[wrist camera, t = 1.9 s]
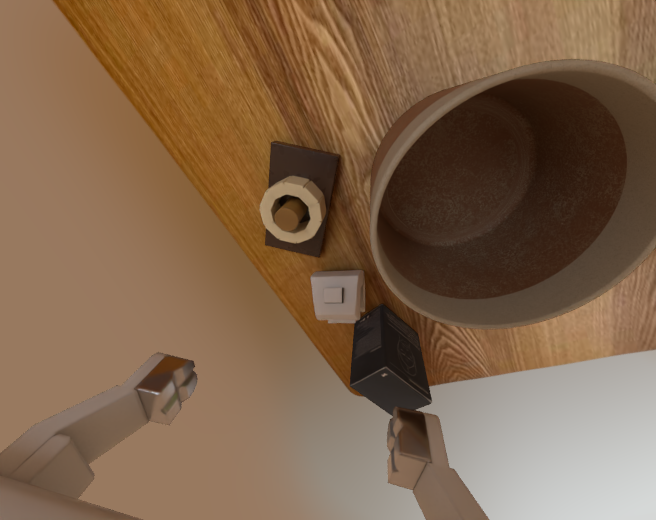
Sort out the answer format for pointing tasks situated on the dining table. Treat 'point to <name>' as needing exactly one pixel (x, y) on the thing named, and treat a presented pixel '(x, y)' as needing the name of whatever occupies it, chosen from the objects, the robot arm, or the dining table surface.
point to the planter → (517, 193)
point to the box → (388, 362)
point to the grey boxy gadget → (338, 295)
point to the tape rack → (293, 209)
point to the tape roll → (307, 194)
